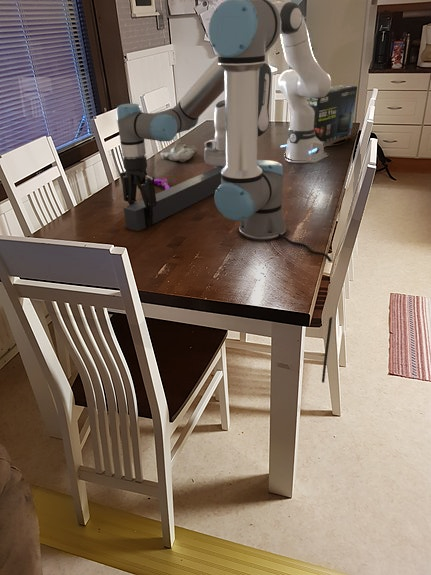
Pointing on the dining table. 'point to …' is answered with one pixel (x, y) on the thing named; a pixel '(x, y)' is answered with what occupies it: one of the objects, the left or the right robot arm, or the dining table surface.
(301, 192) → the dining table surface
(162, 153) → the fossil
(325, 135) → the router box
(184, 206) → the bar
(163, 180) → the handgun
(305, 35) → the right robot arm
